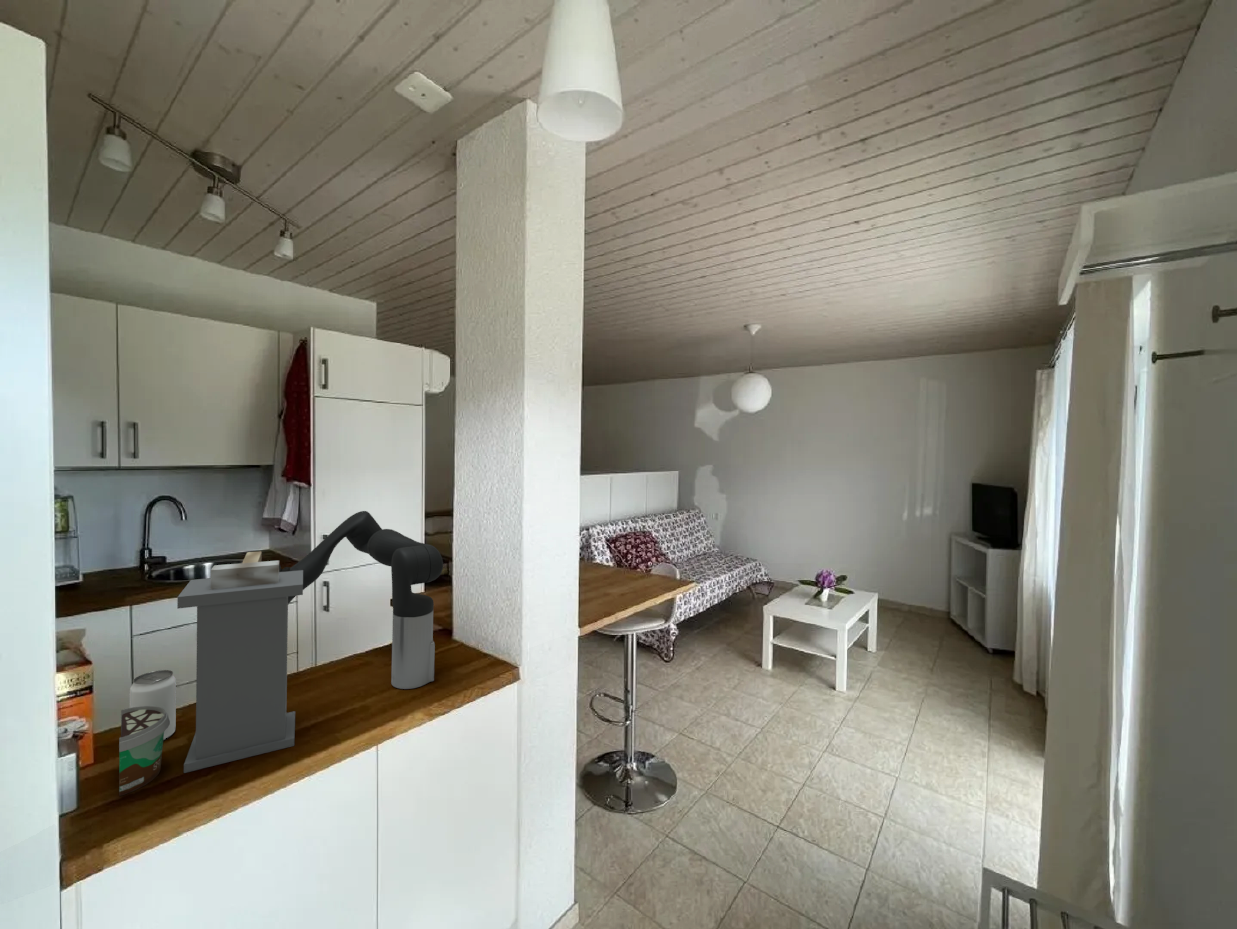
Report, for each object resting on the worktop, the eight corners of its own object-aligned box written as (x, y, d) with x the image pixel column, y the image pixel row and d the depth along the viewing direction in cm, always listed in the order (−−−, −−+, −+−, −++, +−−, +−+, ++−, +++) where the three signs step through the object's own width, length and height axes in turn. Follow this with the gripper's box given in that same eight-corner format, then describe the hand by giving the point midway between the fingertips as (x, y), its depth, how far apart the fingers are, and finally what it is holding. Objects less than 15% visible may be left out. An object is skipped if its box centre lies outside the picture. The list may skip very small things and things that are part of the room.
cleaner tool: (281, 560, 111) (282, 545, 111) (278, 583, 94) (278, 564, 94) (225, 565, 105) (225, 549, 105) (210, 589, 88) (210, 570, 88)
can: (147, 750, 91) (147, 686, 91) (120, 744, 92) (120, 681, 92) (184, 730, 97) (184, 671, 97) (158, 726, 99) (158, 667, 98)
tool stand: (300, 714, 104) (303, 570, 104) (300, 744, 94) (302, 584, 93) (189, 739, 95) (191, 579, 94) (176, 775, 85) (177, 597, 84)
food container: (171, 784, 83) (171, 725, 82) (118, 801, 78) (119, 739, 78) (168, 750, 91) (168, 697, 91) (120, 764, 87) (121, 708, 87)
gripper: (290, 601, 123) (288, 581, 111) (217, 608, 115) (207, 589, 103) (291, 571, 126) (290, 550, 114) (220, 577, 118) (211, 554, 106)
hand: (250, 568), depth 108 cm, fingers open, 8 cm apart
